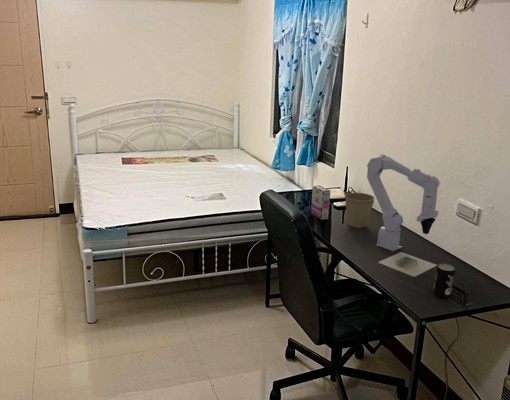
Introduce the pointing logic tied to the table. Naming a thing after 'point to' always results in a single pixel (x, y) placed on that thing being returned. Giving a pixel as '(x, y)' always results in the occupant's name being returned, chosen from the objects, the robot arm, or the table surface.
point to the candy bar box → (320, 202)
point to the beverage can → (444, 281)
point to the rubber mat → (412, 271)
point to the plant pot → (358, 208)
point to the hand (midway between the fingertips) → (425, 233)
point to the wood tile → (406, 262)
